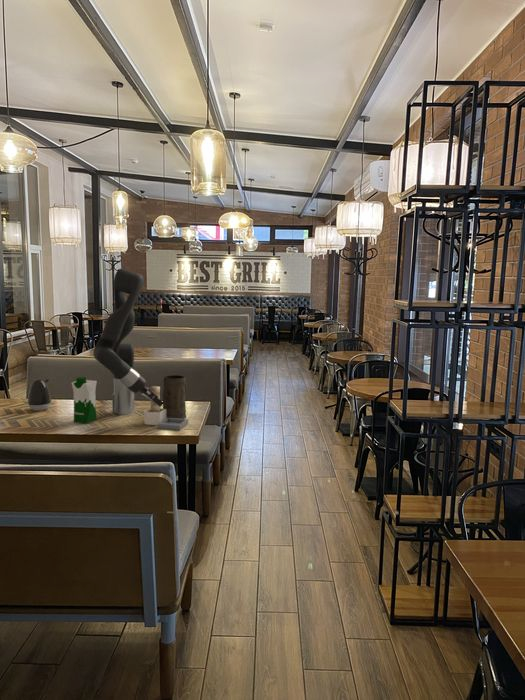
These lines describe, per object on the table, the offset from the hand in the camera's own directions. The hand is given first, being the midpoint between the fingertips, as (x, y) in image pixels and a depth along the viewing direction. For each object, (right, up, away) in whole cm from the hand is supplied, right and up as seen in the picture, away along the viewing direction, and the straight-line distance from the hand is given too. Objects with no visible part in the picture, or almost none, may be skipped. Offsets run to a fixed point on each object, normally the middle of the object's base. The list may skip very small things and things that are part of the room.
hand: (158, 402), depth 213 cm
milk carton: (-33, -9, +2) cm, 34 cm away
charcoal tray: (+8, -10, -4) cm, 13 cm away
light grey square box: (-1, -9, +1) cm, 9 cm away
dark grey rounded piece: (-61, -6, +19) cm, 64 cm away
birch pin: (-1, -9, +1) cm, 9 cm away
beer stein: (+6, -8, +12) cm, 16 cm away
